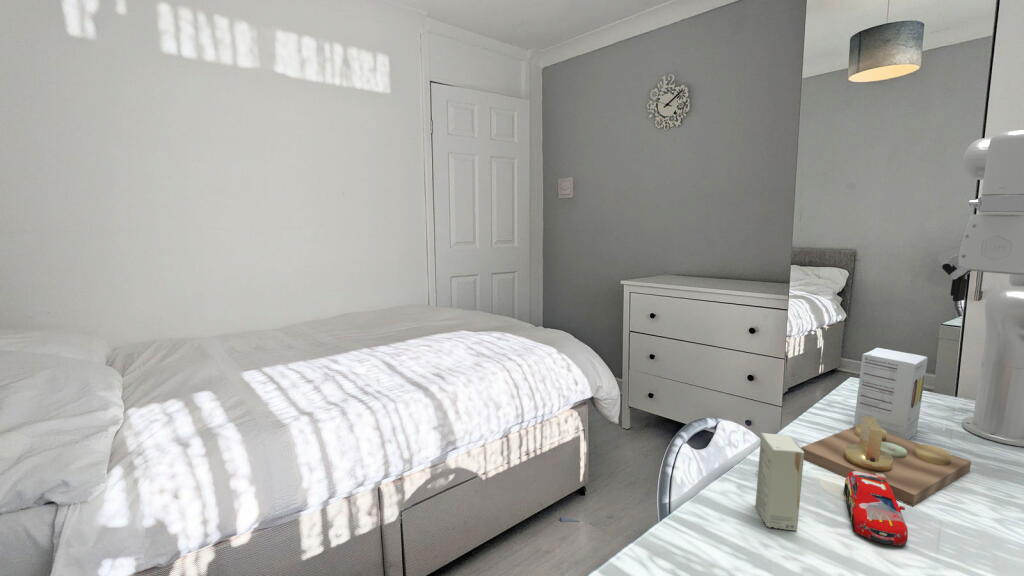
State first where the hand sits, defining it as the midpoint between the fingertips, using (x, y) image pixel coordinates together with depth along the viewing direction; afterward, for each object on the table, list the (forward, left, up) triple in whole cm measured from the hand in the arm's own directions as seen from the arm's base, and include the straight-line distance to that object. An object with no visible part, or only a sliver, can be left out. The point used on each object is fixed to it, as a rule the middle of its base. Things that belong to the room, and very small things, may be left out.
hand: (993, 305), depth 86 cm
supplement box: (-4, -15, -31) cm, 34 cm away
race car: (+33, -1, -31) cm, 45 cm away
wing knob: (+19, -8, -28) cm, 35 cm away
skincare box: (+46, -8, -31) cm, 56 cm away
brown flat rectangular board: (+13, -8, -30) cm, 34 cm away
